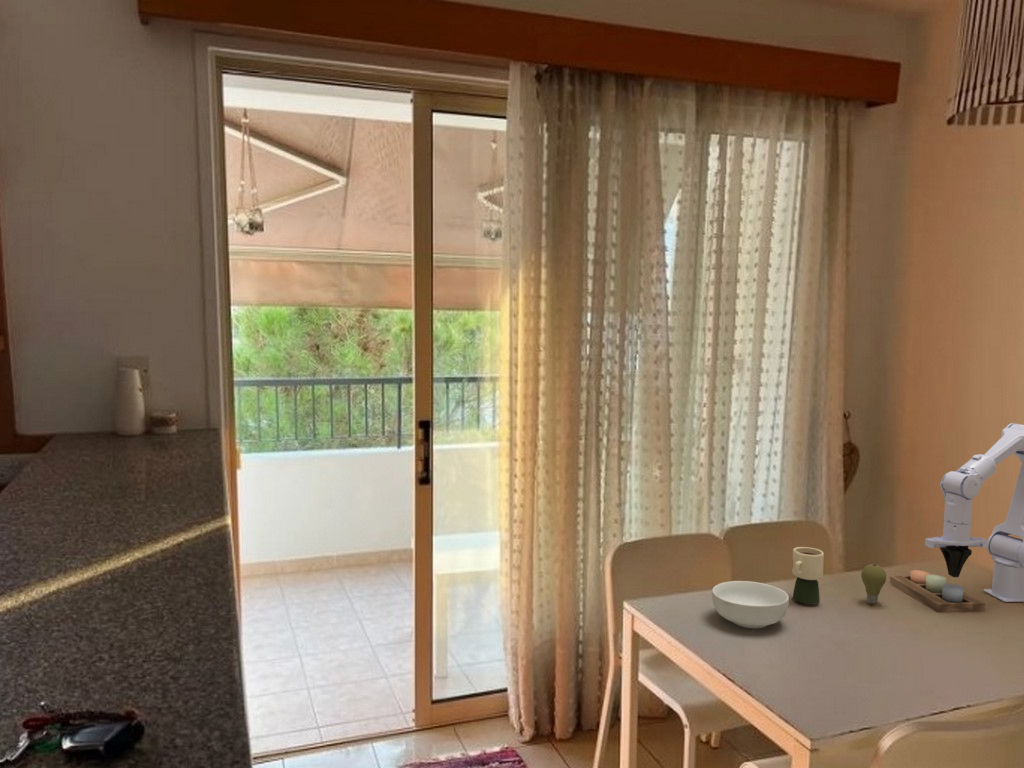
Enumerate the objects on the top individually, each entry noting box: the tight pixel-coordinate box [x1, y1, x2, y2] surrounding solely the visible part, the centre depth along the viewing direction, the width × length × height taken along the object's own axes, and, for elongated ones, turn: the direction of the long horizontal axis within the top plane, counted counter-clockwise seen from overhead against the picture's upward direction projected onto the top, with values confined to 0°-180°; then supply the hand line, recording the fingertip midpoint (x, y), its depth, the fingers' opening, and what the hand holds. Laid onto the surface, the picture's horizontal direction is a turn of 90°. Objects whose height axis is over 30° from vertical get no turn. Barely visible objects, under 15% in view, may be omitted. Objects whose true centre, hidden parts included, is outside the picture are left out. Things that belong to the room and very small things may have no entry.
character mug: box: [791, 546, 825, 605], centre depth 188 cm, size 11×7×13 cm, turn 129°
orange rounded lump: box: [909, 569, 931, 584], centre depth 200 cm, size 4×4×4 cm
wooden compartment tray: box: [889, 575, 986, 613], centre depth 193 cm, size 12×20×2 cm, turn 5°
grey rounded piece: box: [942, 582, 964, 603], centre depth 187 cm, size 4×4×4 cm
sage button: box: [926, 574, 947, 593], centre depth 193 cm, size 4×4×4 cm
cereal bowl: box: [711, 580, 790, 629], centre depth 176 cm, size 17×17×7 cm
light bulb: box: [860, 563, 887, 606], centre depth 188 cm, size 6×6×10 cm
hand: (953, 575), depth 186 cm, fingers closed
